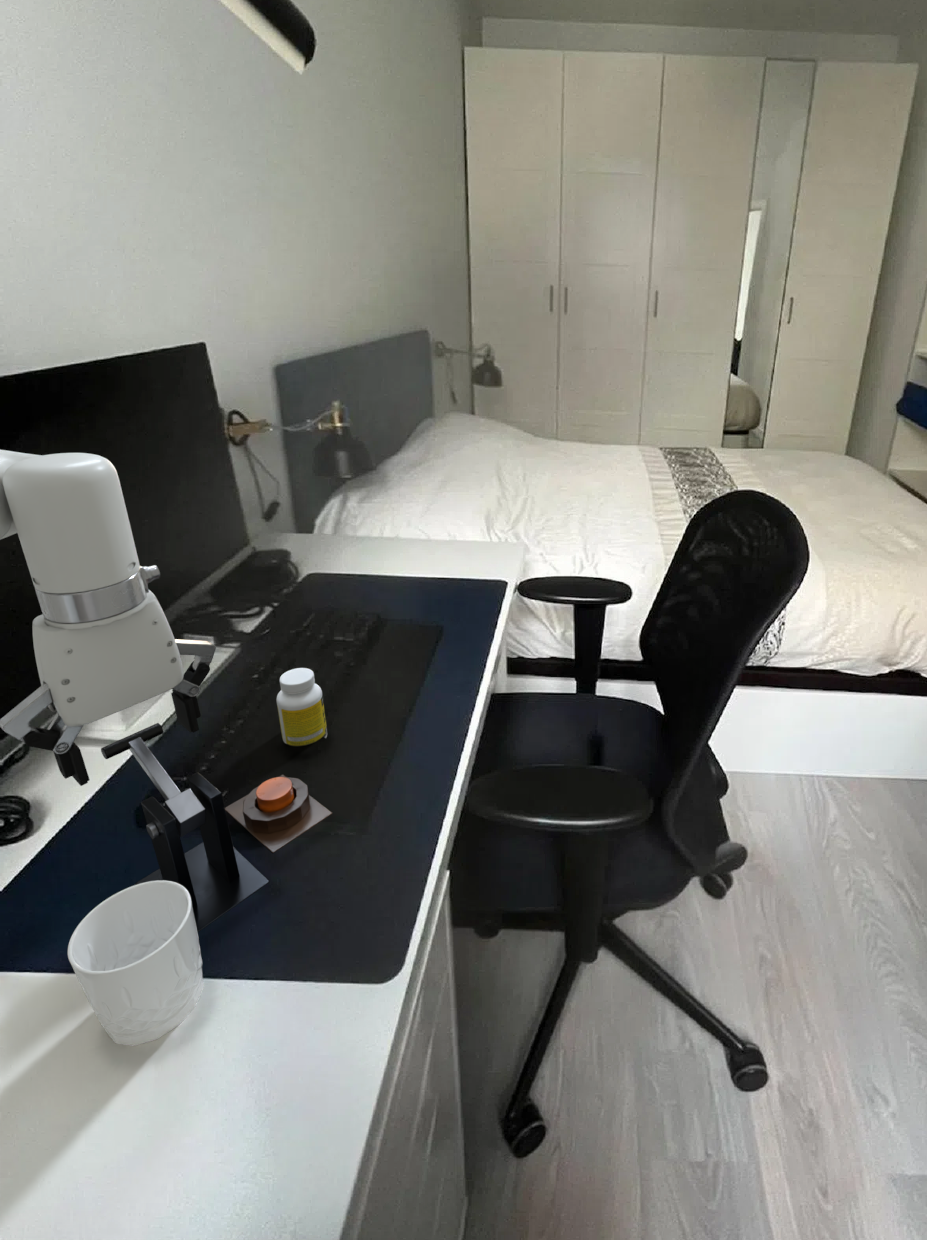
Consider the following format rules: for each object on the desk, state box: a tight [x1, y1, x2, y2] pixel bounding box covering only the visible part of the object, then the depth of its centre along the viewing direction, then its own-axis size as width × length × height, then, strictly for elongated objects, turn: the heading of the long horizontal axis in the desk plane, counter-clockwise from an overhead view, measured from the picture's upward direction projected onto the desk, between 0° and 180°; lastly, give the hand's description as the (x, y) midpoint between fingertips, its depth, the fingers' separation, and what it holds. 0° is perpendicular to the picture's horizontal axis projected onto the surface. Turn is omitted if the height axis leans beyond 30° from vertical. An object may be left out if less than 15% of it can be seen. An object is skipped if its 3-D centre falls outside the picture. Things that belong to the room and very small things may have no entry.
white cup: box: [67, 880, 205, 1047], centre depth 52 cm, size 8×8×10 cm
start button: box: [256, 776, 294, 813], centre depth 71 cm, size 4×4×2 cm
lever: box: [100, 722, 205, 838], centre depth 62 cm, size 12×5×2 cm, turn 54°
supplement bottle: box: [275, 667, 328, 747], centre depth 83 cm, size 5×5×10 cm
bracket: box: [135, 772, 271, 933], centre depth 62 cm, size 10×8×12 cm
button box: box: [224, 774, 333, 854], centre depth 72 cm, size 10×7×3 cm
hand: (137, 750), depth 64 cm, fingers open, 9 cm apart
